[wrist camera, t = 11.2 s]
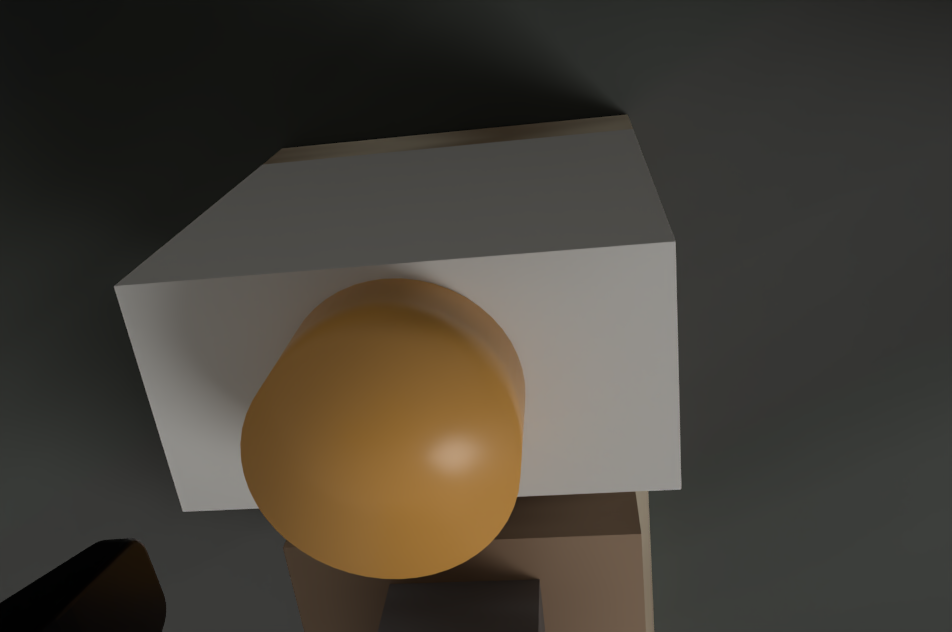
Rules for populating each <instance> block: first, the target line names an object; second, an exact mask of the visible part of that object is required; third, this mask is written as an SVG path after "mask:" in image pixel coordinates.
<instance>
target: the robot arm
mask: <svg viewBox="0 0 952 632" xmlns="http://www.w3.org/2000/svg"><path fill="white" fill-rule="evenodd" d="M165 617H166V602H165V597H164V594H163V591H162V589H161V586H160V584H159V581H158V578H157V576H156V573H155V571H154V568H153V565H152V563H151V560H150V558H149V555H148V553H147V550H146V548H145V546H144V545H143V544H142V543H141V542H140V541H139V540H137V539H134V538H127V539H112V540H102V541H99V542H97V543H95V544H93V545H91V546H90V547H88V548H87V549H85V550H84V551H82V552H80V553H79V554H77V555H76V556H74V557H72V558H71V559H69V560H68V561H66V562H64V563H63V564H61V565H60V566H58V567H57V568H55V569H53V570H52V571H50V572H49V573H47V574H45V575H44V576H42V577H41V578H39V579H37V580H36V581H34V582H33V583H31V584H30V585H28V586H26V587H25V588H23V589H22V590H20V591H18V592H17V593H15V594H14V595H12V596H11V597H9V598H7V599H6V600H4V601H3V602H1V603H0V632H162V629H163V626H164V622H165Z"/></svg>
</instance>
